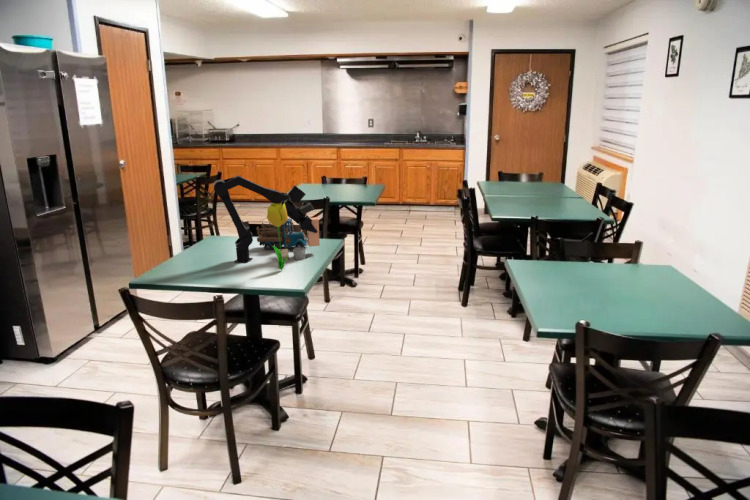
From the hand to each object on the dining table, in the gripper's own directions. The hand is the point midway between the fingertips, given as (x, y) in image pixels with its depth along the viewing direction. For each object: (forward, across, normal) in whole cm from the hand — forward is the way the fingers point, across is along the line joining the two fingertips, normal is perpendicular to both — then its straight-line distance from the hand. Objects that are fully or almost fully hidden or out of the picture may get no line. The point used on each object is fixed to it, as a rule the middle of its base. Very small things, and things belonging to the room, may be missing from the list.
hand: (315, 231), depth 256 cm
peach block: (+4, 0, +6) cm, 7 cm away
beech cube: (-4, -5, +20) cm, 21 cm away
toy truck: (-2, +15, +18) cm, 23 cm away
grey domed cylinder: (+1, -6, +14) cm, 16 cm away
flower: (-6, -23, +22) cm, 32 cm away
